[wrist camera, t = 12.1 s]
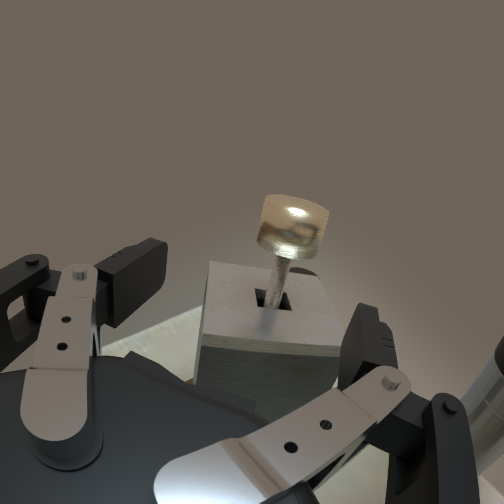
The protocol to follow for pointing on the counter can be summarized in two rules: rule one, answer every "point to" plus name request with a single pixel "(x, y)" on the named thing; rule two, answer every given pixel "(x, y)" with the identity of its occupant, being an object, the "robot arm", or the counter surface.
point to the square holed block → (267, 339)
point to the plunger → (289, 237)
